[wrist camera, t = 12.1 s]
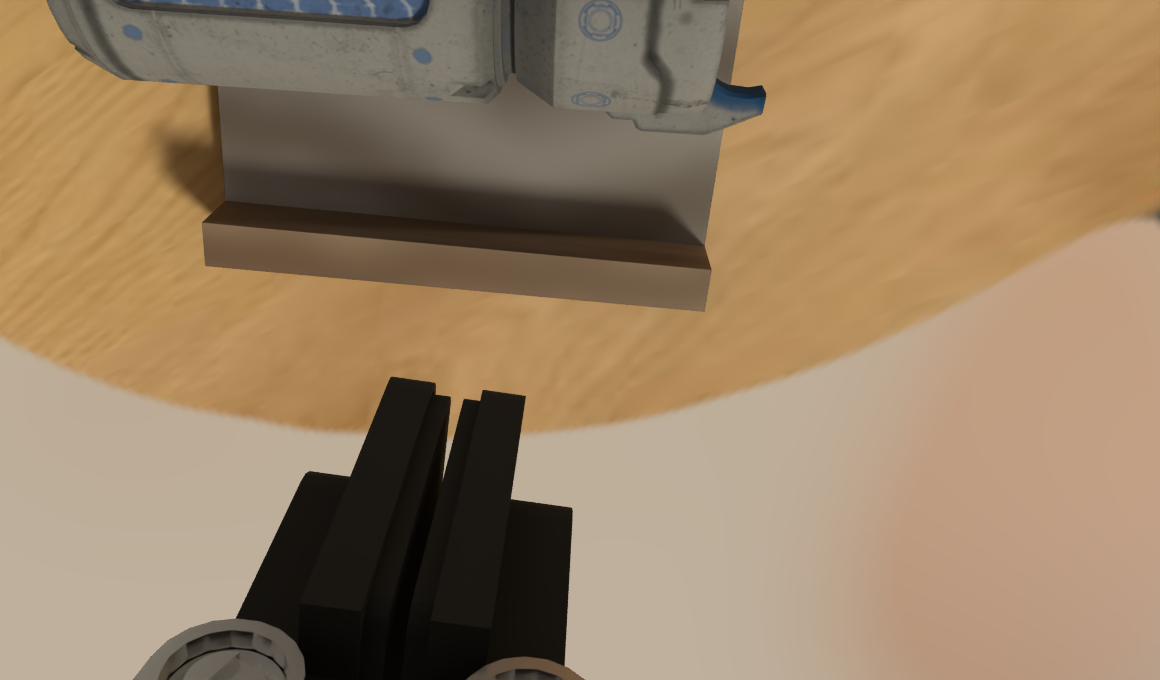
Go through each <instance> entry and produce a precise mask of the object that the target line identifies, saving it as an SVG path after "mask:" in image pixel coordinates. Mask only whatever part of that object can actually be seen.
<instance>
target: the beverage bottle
mask: <svg viewBox="0 0 1160 680" xmlns="http://www.w3.org/2000/svg"><path fill="white" fill-rule="evenodd" d="M729 2H730V0H47V3H48V6H49V8H50V10H51V12H52V14H53V16H54V18H55V20H56V22H57V24H58V26H59V28H60V30H61V31H62V33H63V34H64V35H65V37H66V38H67V40H68V41H69V42H70V43H71V44H73V45H75V49H76V50H77V51H78V52H79V53H80V54H81V55H82V56H83V57H84V58H86V59H87V60H89V61H91V62H93V63H94V64H96V65H98V66H99V67H101V68H103V69H105V70H106V71H108V72H110V73H112V74H114V75H115V76H117V77H119V78H121V79H123V80H138V81H153V82H168V83H183V84H198V85H213V86H228V87H243V88H258V89H273V90H287V91H302V92H317V93H332V94H347V95H362V96H377V97H392V98H407V99H422V100H437V101H452V102H466V103H481V104H489V103H490V102H491V101H492V100H493V99H494V98H495V97H496V96H498V95H499V94H500V92H501V90H502V87H503V86H504V85H505V83H506V82H507V80H508V76H509V73H516V78H517V81H518V82H519V83H521V84H522V85H523V86H525V87H526V88H527V89H529V90H530V91H531V92H533V93H534V94H535V95H537V96H538V97H540V98H541V99H542V100H544V101H545V102H546V103H548V104H549V105H550V106H552V107H553V108H561V109H576V110H591V111H605V112H606V113H607V114H608V115H609V116H610V117H611V118H612V119H623V120H633V123H634V125H635V127H636V128H637V129H639V130H640V131H648V132H663V133H678V134H693V135H707V134H711V133H713V132H716V131H719V130H721V129H724V128H727V127H729V126H732V125H735V124H737V123H740V122H743V121H745V120H748V119H751V118H753V117H756V116H759V115H761V114H762V113H763V108H764V104H765V99H766V92H765V90H764V88H763V86H762V85H761V86H754V87H742V86H735V85H728V84H726V83H724V82H722V81H720V80H719V79H718V78H717V73H718V69H719V64H720V60H721V54H722V48H723V43H724V37H725V31H726V24H727V17H728V10H729Z"/></svg>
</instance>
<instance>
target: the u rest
mask: <svg viewBox="0 0 1160 680" xmlns="http://www.w3.org/2000/svg"><path fill="white" fill-rule="evenodd" d="M743 3H744V0H730V2H729V10H728V17H727V24H726V31H725V37H724V43H723V48H722V54H721V60H720V64H719V69H718V73H717V78H718V79H719V80H720V81H722V82H724V83H726V84H728V85H730V84H731V78H732V71H733V65H734V59H735V53H736V47H737V40H738V34H739V28H740V22H741V16H742V9H743ZM218 97H219V112H220V127H221V142H222V156H223V171H224V186H225V202H224V203H223V204H221V205H220V206H219V207H218V208H217V209H216V210H215V211H214V212H213V213H212V214H211V215H210V216H209V217H207V218H206V219H205V220H204V221H203V222H202V230H203V243H204V255H205V266H211V267H222V268H233V269H244V270H254V271H265V272H276V273H287V274H298V275H309V276H320V277H331V278H342V279H353V280H364V281H375V282H385V283H396V284H407V285H418V286H429V287H440V288H451V289H462V290H473V291H484V292H495V293H505V294H516V295H527V296H538V297H549V298H560V299H571V300H582V301H593V302H604V303H615V304H625V305H636V306H647V307H658V308H669V309H680V310H691V311H702V312H705V306H706V300H707V294H708V288H709V282H710V276H711V267H710V263H709V260H708V256H707V253H706V249H705V246H704V245H705V239H706V233H707V227H708V220H709V214H710V208H711V202H712V195H713V189H714V183H715V177H716V171H717V164H718V158H719V152H720V146H721V140H722V133H723V129H721V130H719V131H716V132H713V133H711V134H707V135H693V134H678V133H663V132H648V131H640V130H639V129H637V128H636V127H635V125H634V123H633V120H623V119H612V118H611V117H610V116H609V115H608V114H607V113H606V112H605V111H591V110H576V109H561V108H553V107H552V106H550V105H549V104H548V103H546V102H545V101H544V100H542V99H541V98H540V97H538V96H537V95H535V94H534V93H533V92H531V91H530V90H529V89H527V88H526V87H525V86H523V85H522V84H521V83H519V82H518V81H517V78H516V73H509V76H508V80H507V82H506V83H505V85H504V86H503V87H502V90H501V92H500V94H499V95H498V96H496V97H495V98H494V99H493V100H492V101H491V102H490V103H489V104H481V103H466V102H452V101H437V100H422V99H407V98H392V97H377V96H362V95H347V94H332V93H317V92H302V91H287V90H273V89H258V88H243V87H228V86H218Z"/></svg>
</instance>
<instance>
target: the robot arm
mask: <svg viewBox="0 0 1160 680" xmlns="http://www.w3.org/2000/svg"><path fill="white" fill-rule="evenodd" d="M435 394H436V384H435V383H432V382H425V381H418V380H411V379H405V378H398V377H391V378H390V380H389V382H388V384H387V387H386V389H385V392H384V394H383V396H382V399H381V401H380V404H379V406H378V409H377V411H376V414H375V416H374V419H373V421H372V424H371V426H370V429H369V431H368V434H367V436H366V439H365V441H364V444H363V446H362V449H361V451H360V454H359V456H358V459H357V461H356V464H355V466H354V469H353V471H352V474H351V476H350V477H347V476H340V475H333V474H326V473H319V472H312V471H309V472H307V473H306V474H305V476H304V477H303V479H302V481H301V482H300V484H299V487H298V489H297V491H296V493H295V495H294V497H293V499H292V501H291V503H290V506H289V508H288V510H287V512H286V514H285V516H284V518H283V520H282V522H281V524H280V527H279V529H278V531H277V533H276V535H275V537H274V539H273V542H272V543H271V546H270V548H269V550H268V552H267V554H266V556H265V558H264V560H263V563H262V564H261V567H260V569H259V571H258V573H257V575H256V577H255V579H254V581H253V583H252V586H251V588H250V590H249V592H248V594H247V596H246V598H245V600H244V602H243V604H242V607H241V609H240V611H239V613H238V615H237V617H236V619H229V620H219V621H211V622H208V623H205V624H202V625H198V626H195V627H192V628H189V629H187V630H185V631H184V632H182V633H180V634H178V635H177V636H175V637H173V638H171V639H170V640H168V641H167V642H166V643H165V644H164V645H162V646H161V647H160V648H159V649H158V650H157V651H156V652H155V653H154V654H153V655H152V656H151V657H150V658H149V660H148V661H147V662H146V664H145V665H144V666H143V668H142V669H141V670H140V671H139V673H138V674H137V675H136V676H135V678H134V679H133V680H584V679H583V678H582V677H580V676H579V675H578V674H576V673H575V672H574V671H572V670H571V669H569V668H568V667H565V666H564V664H565V646H566V644H565V643H566V627H567V609H568V591H569V571H570V554H571V536H572V512H573V511H572V508H570V507H562V506H556V505H548V504H541V503H534V502H526V501H519V500H513V499H511V493H512V487H513V480H514V473H515V466H516V459H517V453H518V446H519V439H520V432H521V426H522V419H523V412H524V405H525V398H526V396H522V395H515V394H508V393H501V392H495V391H488V390H483V391H482V395H481V400H480V401H476V400H469V399H464V401H463V404H462V408H461V412H460V416H459V420H458V424H457V427H456V431H455V435H454V439H453V443H452V447H451V451H450V455H449V459H448V462H447V466H446V470H445V474H444V478H443V471H444V461H445V452H446V443H447V433H448V424H449V415H450V404H451V397H448V396H441V395H435ZM442 481H443V482H442Z"/></svg>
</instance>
